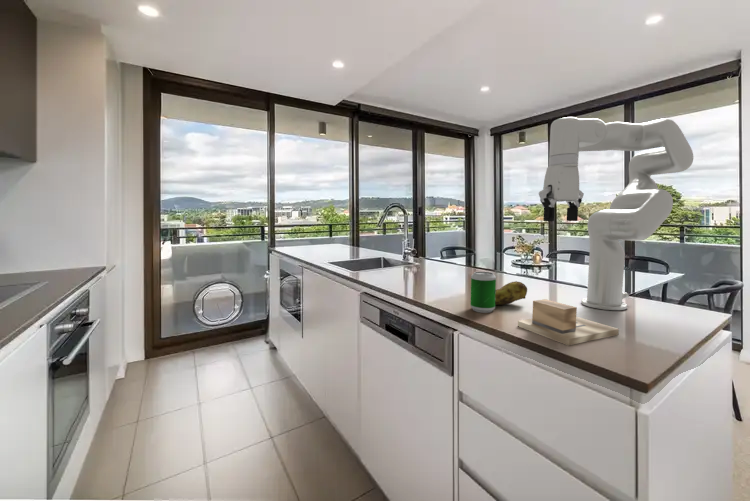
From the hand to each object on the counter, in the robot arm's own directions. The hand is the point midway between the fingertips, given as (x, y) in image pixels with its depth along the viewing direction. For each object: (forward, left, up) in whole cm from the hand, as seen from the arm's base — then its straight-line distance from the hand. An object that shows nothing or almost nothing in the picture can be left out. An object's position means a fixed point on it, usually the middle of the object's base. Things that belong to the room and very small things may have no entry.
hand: (560, 221), depth 100 cm
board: (+11, +12, -28) cm, 33 cm away
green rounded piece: (+6, -14, -28) cm, 32 cm away
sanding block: (+16, +12, -27) cm, 33 cm away
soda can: (+18, -12, -28) cm, 36 cm away
